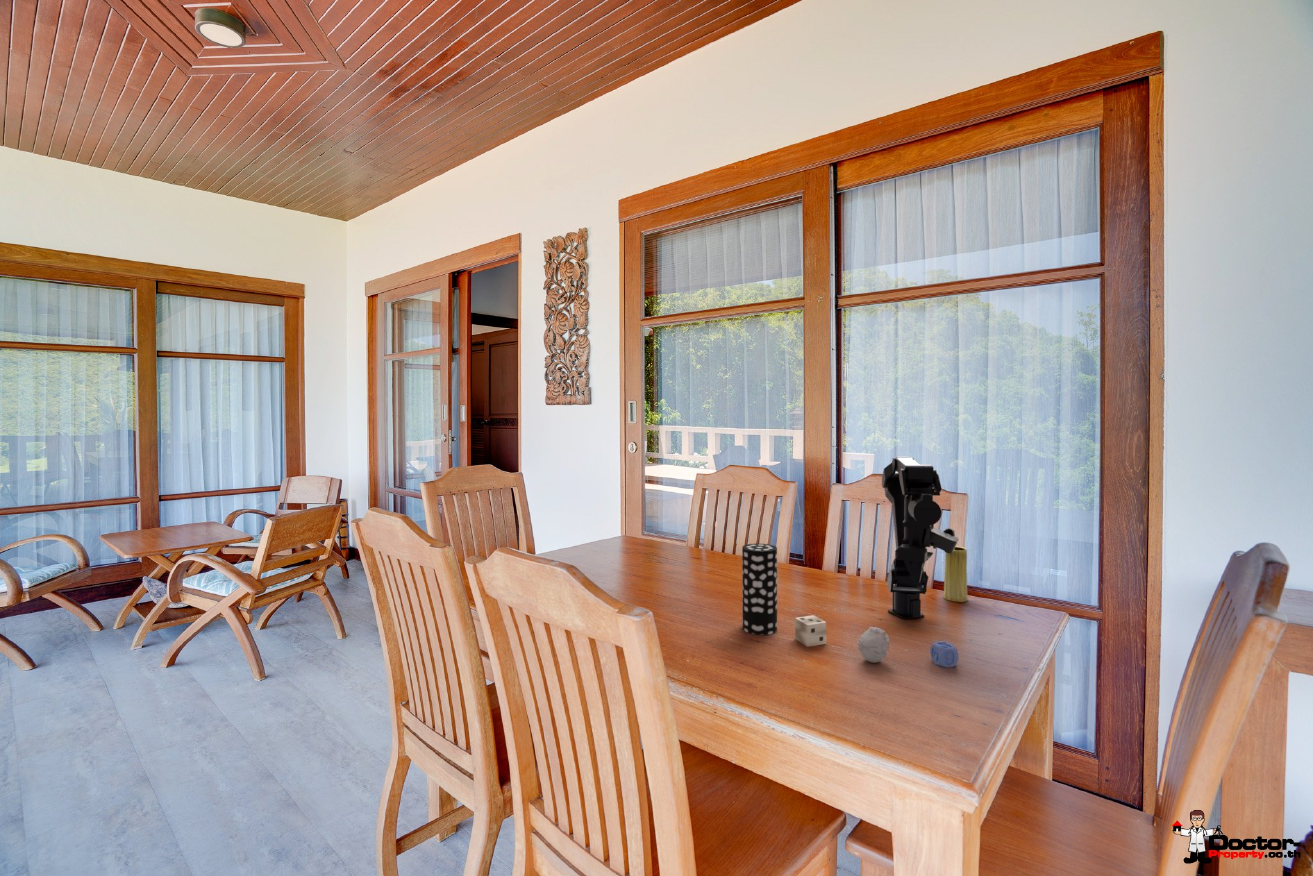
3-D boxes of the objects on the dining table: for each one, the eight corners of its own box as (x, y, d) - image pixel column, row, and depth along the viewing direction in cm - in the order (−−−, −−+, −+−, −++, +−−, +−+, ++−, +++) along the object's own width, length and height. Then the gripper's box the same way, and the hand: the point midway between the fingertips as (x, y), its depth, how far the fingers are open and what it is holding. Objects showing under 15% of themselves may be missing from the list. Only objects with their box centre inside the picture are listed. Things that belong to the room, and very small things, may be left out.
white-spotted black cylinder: (756, 637, 137) (756, 553, 136) (735, 626, 144) (735, 546, 143) (784, 631, 141) (784, 548, 140) (762, 620, 148) (762, 542, 147)
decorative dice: (948, 659, 124) (948, 640, 124) (958, 667, 120) (959, 648, 120) (929, 659, 124) (930, 641, 124) (939, 668, 120) (939, 648, 120)
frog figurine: (896, 662, 123) (896, 629, 123) (876, 670, 119) (876, 637, 119) (870, 652, 128) (871, 621, 128) (850, 660, 124) (851, 628, 124)
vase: (965, 596, 165) (966, 546, 165) (969, 603, 159) (970, 551, 159) (942, 594, 167) (942, 545, 167) (945, 601, 161) (945, 550, 161)
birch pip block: (795, 639, 136) (795, 617, 136) (813, 636, 138) (813, 614, 137) (807, 647, 131) (807, 624, 131) (826, 644, 133) (826, 622, 133)
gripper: (949, 527, 125) (949, 599, 126) (961, 514, 140) (960, 578, 141) (894, 522, 131) (894, 591, 132) (911, 510, 147) (910, 572, 147)
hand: (916, 583), depth 138 cm, fingers closed
